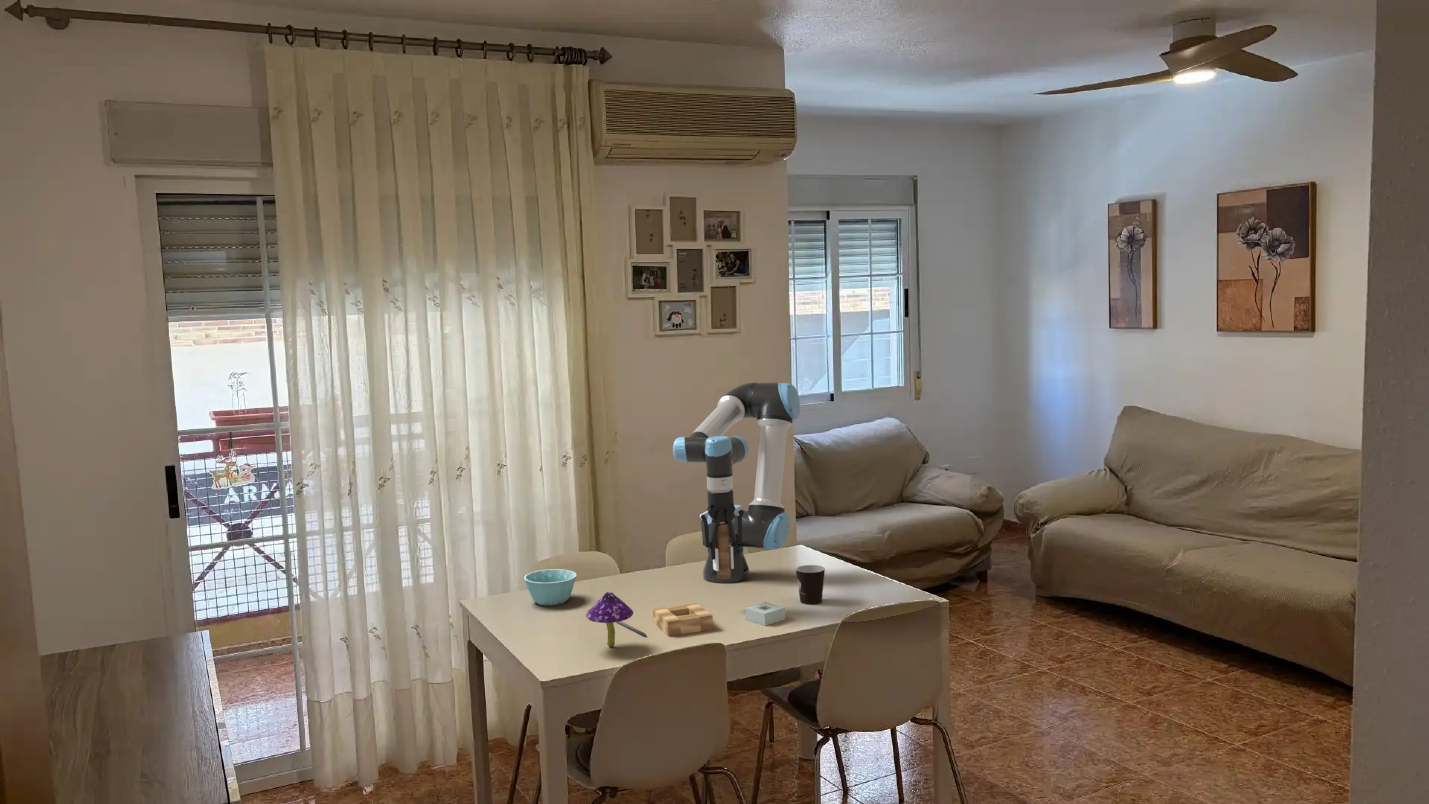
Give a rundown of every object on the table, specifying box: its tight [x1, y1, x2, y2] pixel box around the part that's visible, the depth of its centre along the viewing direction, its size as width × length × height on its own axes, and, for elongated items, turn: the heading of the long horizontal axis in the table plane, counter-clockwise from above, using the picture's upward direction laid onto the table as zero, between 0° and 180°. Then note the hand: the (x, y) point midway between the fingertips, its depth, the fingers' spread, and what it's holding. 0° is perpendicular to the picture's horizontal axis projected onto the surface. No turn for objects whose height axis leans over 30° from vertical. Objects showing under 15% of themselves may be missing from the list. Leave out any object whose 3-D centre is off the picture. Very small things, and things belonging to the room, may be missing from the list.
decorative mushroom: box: [585, 591, 634, 648], centre depth 282 cm, size 12×12×15 cm
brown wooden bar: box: [716, 522, 731, 579], centre depth 311 cm, size 4×4×16 cm
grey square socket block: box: [744, 601, 786, 627], centre depth 302 cm, size 8×8×3 cm
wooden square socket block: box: [652, 602, 714, 637], centre depth 298 cm, size 13×13×4 cm
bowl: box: [523, 568, 578, 607], centre depth 326 cm, size 16×16×8 cm
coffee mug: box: [795, 564, 826, 606], centre depth 319 cm, size 12×9×10 cm
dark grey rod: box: [616, 621, 647, 637], centre depth 297 cm, size 17×1×1 cm, turn 33°
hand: (723, 568), depth 312 cm, fingers closed on brown wooden bar, 4 cm apart
